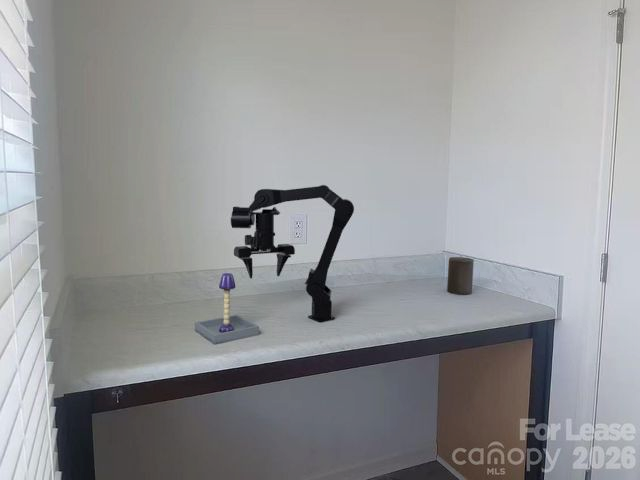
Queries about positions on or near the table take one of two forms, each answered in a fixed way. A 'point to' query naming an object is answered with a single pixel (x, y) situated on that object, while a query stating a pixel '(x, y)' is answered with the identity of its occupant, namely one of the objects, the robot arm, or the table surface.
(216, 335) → the desk tray
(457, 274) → the pillar candle
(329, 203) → the robot arm
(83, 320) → the table surface
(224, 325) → the toy lamp
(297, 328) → the table surface
